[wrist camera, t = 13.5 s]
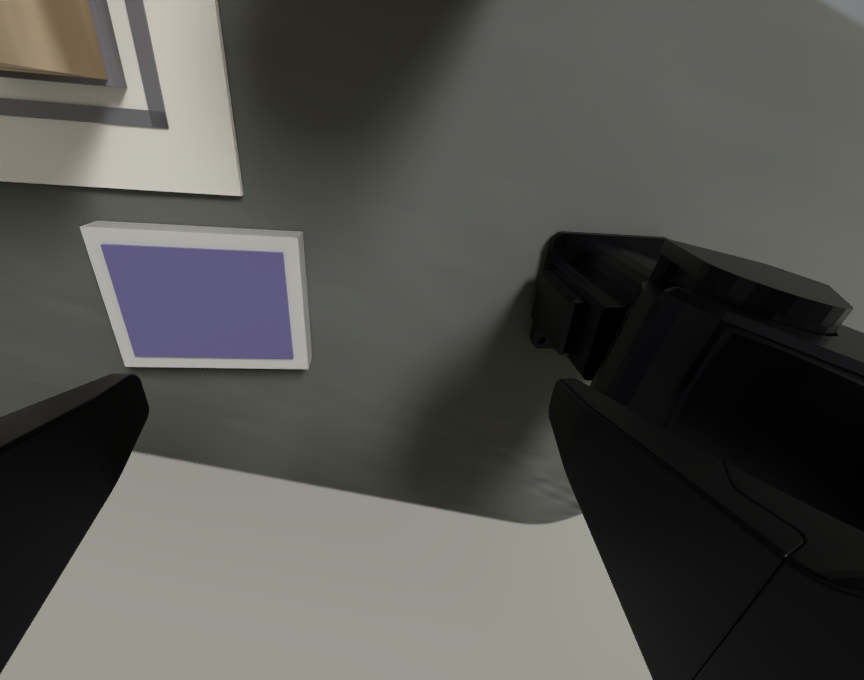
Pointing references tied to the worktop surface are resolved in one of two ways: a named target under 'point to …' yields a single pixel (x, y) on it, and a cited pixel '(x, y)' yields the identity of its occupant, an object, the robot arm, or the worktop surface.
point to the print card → (133, 111)
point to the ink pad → (203, 294)
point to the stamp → (59, 42)
